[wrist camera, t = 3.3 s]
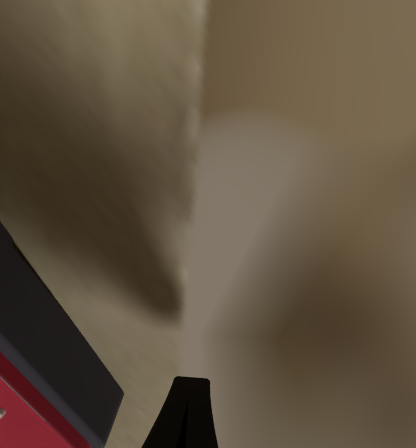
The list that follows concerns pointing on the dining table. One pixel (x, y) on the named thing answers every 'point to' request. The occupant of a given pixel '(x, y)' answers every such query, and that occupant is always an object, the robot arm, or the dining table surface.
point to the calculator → (47, 368)
